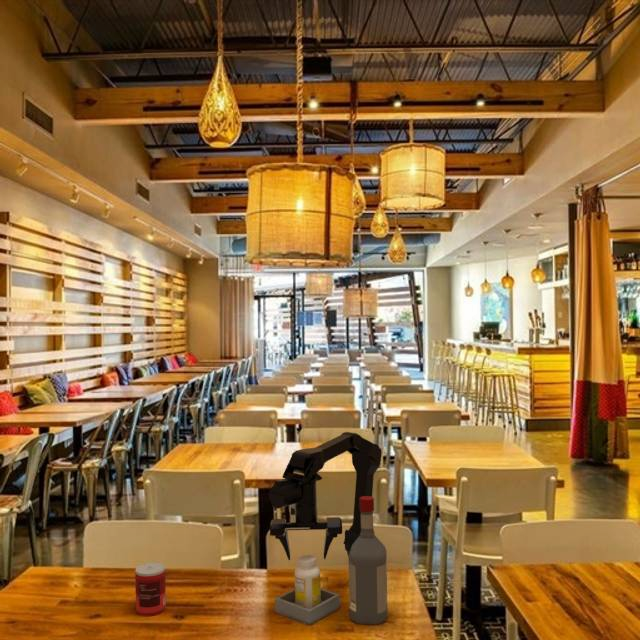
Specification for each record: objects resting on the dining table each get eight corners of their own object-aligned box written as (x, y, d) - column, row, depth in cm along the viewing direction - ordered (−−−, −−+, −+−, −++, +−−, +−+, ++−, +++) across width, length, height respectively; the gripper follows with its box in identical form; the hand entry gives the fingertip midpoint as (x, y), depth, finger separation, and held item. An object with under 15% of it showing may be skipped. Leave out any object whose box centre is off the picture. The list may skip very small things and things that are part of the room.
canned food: (156, 600, 171) (155, 560, 171) (171, 609, 166) (171, 567, 166) (130, 609, 166) (129, 568, 166) (145, 619, 160) (144, 576, 160)
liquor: (388, 609, 163) (385, 493, 163) (385, 626, 154) (383, 503, 154) (353, 607, 165) (350, 492, 165) (348, 623, 156) (346, 502, 156)
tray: (305, 596, 172) (305, 583, 172) (340, 608, 165) (339, 594, 165) (275, 612, 163) (274, 598, 163) (310, 625, 155) (309, 611, 155)
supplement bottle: (320, 601, 167) (319, 553, 167) (321, 612, 161) (320, 562, 161) (295, 602, 167) (294, 553, 167) (295, 613, 160) (294, 563, 161)
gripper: (340, 490, 173) (341, 547, 173) (272, 492, 173) (273, 548, 173) (341, 502, 162) (343, 562, 162) (269, 503, 162) (270, 564, 162)
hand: (307, 559), depth 165 cm, fingers open, 9 cm apart
